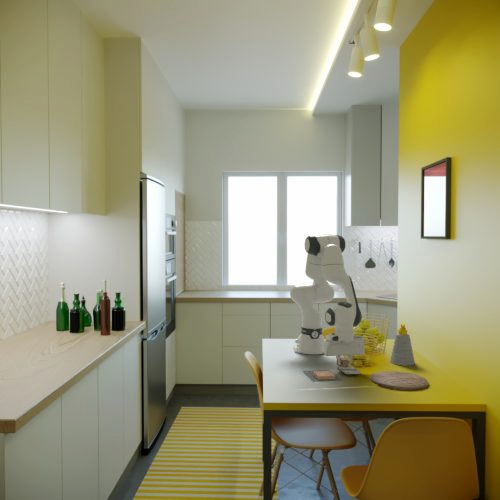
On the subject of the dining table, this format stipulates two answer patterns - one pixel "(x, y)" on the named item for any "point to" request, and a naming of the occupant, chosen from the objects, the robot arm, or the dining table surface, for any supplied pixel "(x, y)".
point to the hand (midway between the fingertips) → (344, 364)
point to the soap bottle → (402, 349)
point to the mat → (314, 379)
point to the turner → (347, 367)
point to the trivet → (399, 380)
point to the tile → (323, 375)
